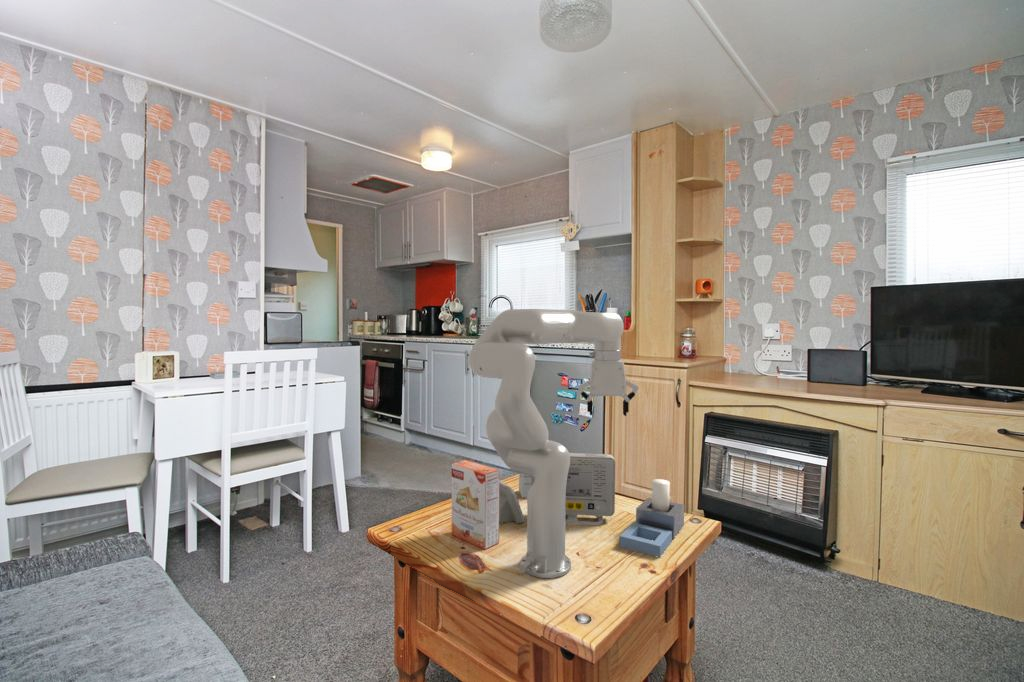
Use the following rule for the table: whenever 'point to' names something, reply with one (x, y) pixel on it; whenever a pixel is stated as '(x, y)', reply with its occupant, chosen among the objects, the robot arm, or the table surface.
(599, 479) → the network device
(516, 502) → the digital clock
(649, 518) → the upper socket
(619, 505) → the table surface
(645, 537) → the lower socket
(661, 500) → the plug
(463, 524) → the cracker box
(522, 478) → the supplement box
